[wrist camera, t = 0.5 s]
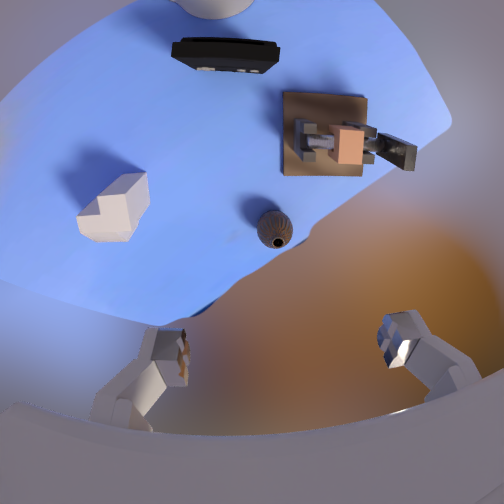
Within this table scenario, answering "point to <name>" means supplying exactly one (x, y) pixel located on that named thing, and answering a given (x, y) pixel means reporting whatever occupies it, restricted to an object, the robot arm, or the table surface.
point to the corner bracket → (116, 209)
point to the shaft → (375, 148)
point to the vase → (274, 229)
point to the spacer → (347, 144)
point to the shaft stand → (320, 132)
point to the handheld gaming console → (226, 54)
